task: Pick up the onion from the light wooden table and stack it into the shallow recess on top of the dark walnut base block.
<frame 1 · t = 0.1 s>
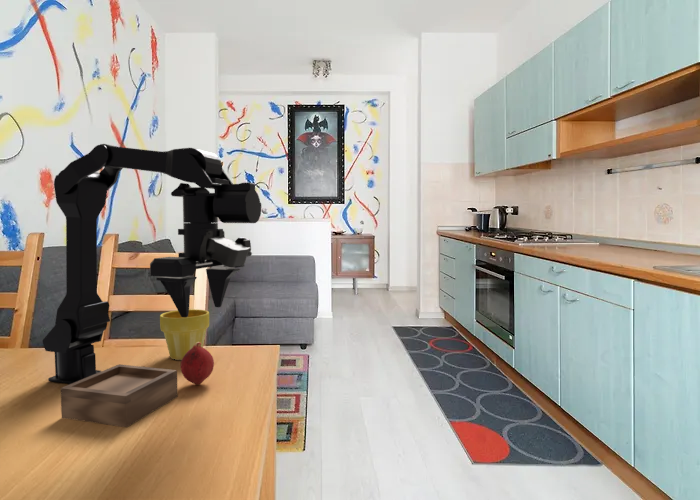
hand: (202, 311, 80), 14 cm above the table, tool pointing down, fingers open, 9 cm apart
walnut base: (122, 406, 74), on the table
onion: (197, 385, 84), on the table
plant pot: (185, 356, 102), on the table
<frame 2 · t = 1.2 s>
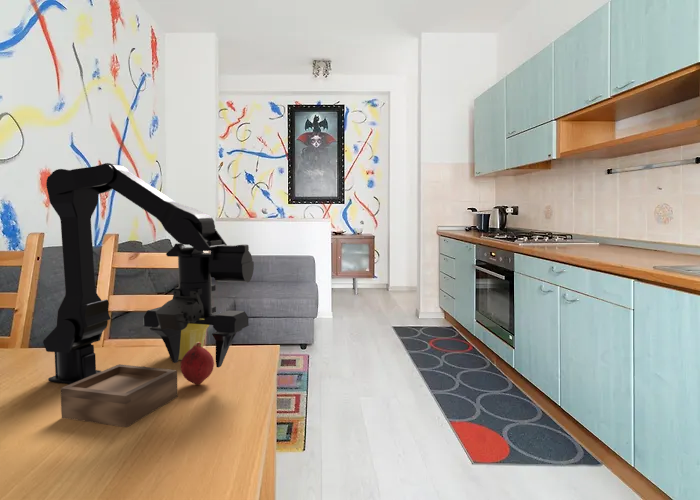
hand: (196, 364, 84), 4 cm above the table, tool pointing down, fingers open, 9 cm apart
nothing on the table moved.
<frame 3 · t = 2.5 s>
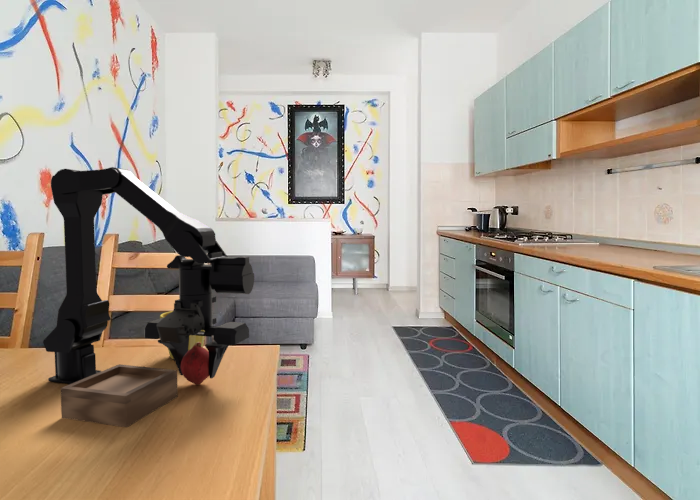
hand: (197, 376, 84), 2 cm above the table, tool pointing down, fingers closed on onion, 6 cm apart
onion: (197, 385, 84), on the table, touching gripper
everything else where it was.
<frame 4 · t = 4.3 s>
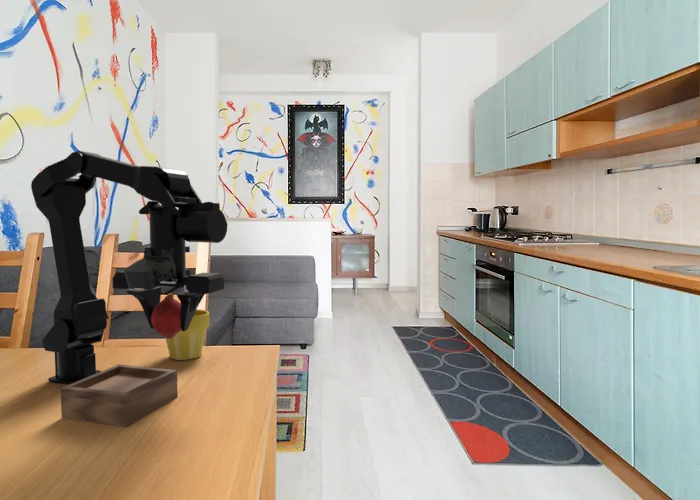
hand: (169, 329, 80), 11 cm above the table, tool pointing down, fingers closed on onion, 6 cm apart
onion: (169, 339, 80), point 9 cm above the table, touching gripper
everything else where it was.
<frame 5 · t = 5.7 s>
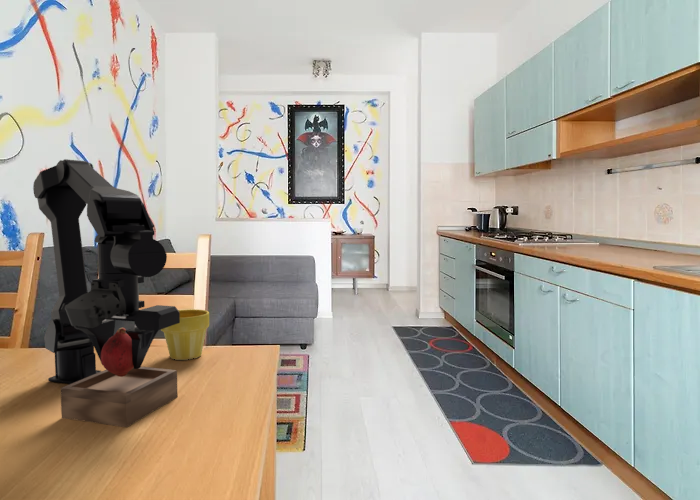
hand: (121, 366, 74), 7 cm above the table, tool pointing down, fingers closed on onion, 6 cm apart
onion: (121, 377, 74), point 5 cm above the table, touching gripper
everything else where it was.
when the fingers open (6 cm above the table, at t = 6.6 s): onion drops 1 cm, resting on walnut base.
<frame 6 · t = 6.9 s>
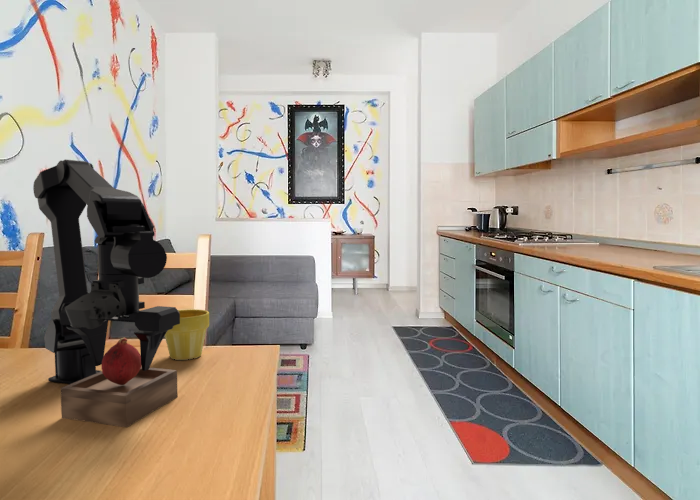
hand: (121, 367, 74), 6 cm above the table, tool pointing down, fingers open, 9 cm apart
onion: (121, 385, 74), point 3 cm above the table, touching walnut base
everything else where it was.
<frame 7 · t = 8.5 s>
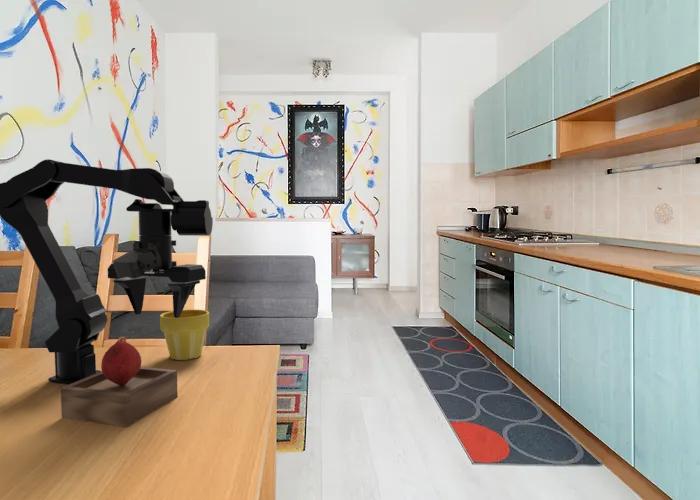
hand: (157, 315, 88), 12 cm above the table, tool pointing down, fingers open, 9 cm apart
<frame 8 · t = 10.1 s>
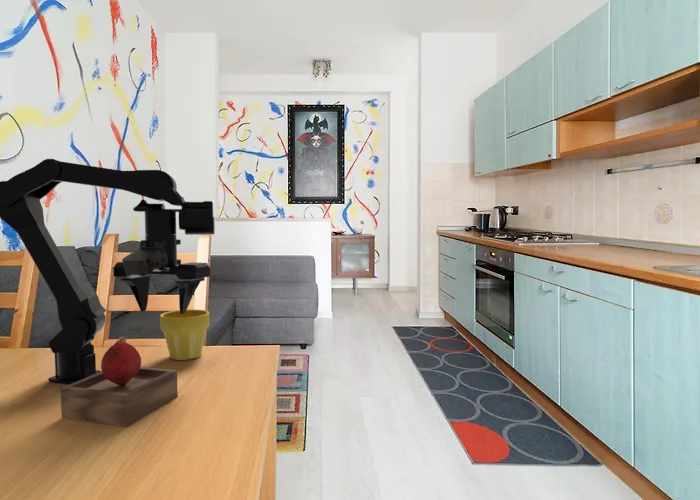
hand: (162, 312, 91), 12 cm above the table, tool pointing down, fingers open, 9 cm apart
nothing on the table moved.
at the end: onion inside the target area on the walnut base (0.1 cm from its centre), point 3.3 cm above the walnut base's base; onion touching walnut base; the gripper is holding nothing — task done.
